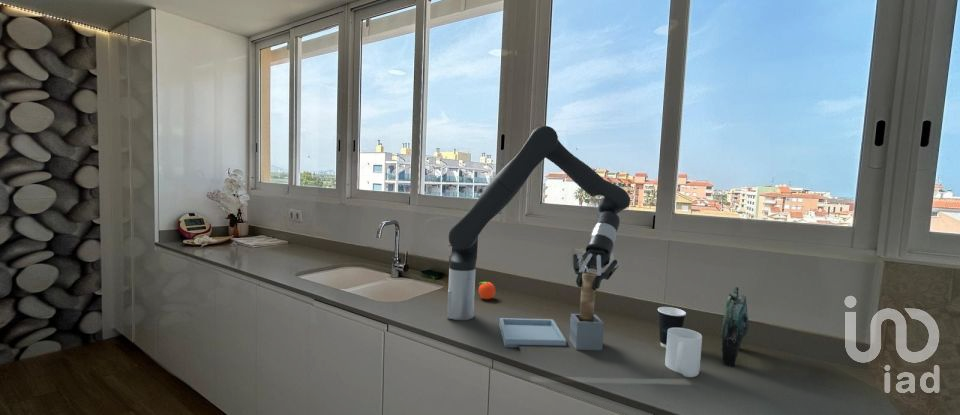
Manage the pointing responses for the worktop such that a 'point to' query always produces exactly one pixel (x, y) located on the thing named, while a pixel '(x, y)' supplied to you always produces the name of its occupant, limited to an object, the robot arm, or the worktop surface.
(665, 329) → the dixie cup
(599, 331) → the light blue hollow box
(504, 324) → the tray
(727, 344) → the dark green tall piece
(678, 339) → the mug
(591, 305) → the pin
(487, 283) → the clementine
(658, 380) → the worktop surface
